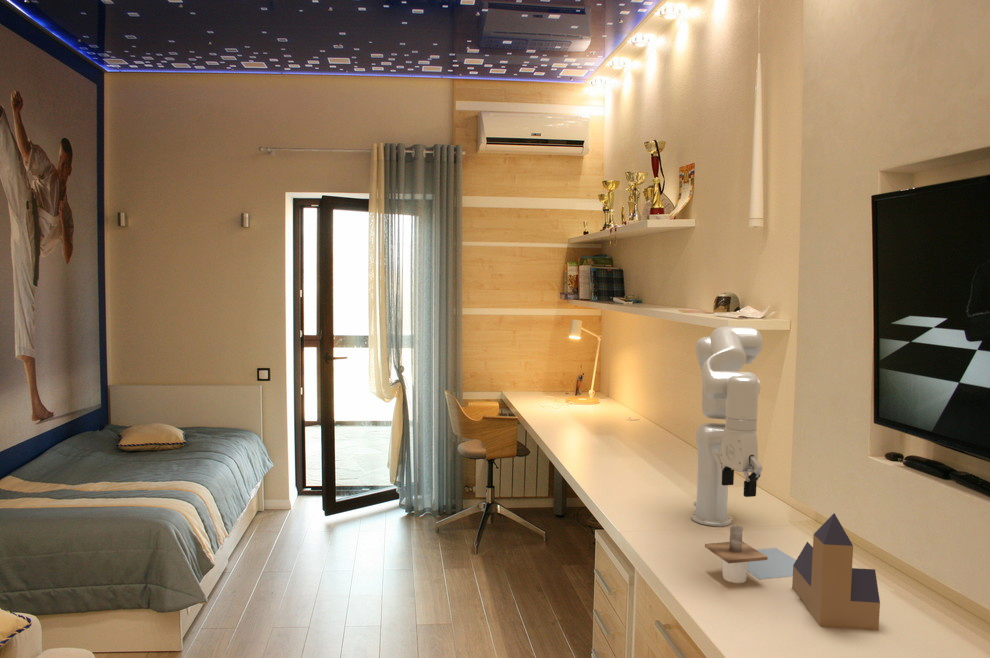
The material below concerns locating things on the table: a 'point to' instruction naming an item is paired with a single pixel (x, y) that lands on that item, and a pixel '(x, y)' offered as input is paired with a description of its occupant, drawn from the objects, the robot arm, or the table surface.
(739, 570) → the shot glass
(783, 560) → the mat
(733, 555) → the lid
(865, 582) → the toy building blocks
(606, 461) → the table surface
